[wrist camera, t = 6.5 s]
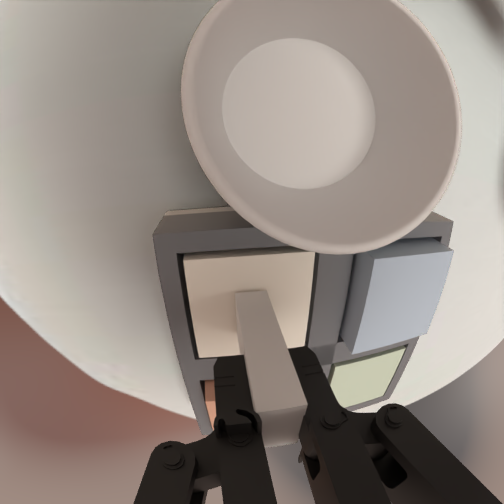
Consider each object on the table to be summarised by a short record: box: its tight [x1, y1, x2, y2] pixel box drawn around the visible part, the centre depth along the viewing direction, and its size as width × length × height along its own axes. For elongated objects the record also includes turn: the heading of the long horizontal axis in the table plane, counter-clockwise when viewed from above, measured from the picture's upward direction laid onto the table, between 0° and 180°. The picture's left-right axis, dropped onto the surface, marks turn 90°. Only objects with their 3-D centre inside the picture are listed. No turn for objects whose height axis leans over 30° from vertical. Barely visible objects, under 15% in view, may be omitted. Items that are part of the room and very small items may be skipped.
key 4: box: [183, 246, 315, 358], centre depth 14 cm, size 6×6×2 cm
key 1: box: [327, 345, 405, 408], centre depth 19 cm, size 6×6×2 cm
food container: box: [181, 0, 462, 255], centre depth 11 cm, size 12×12×7 cm
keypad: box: [153, 207, 453, 435], centre depth 17 cm, size 17×17×4 cm
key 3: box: [339, 237, 454, 354], centre depth 14 cm, size 6×6×2 cm
